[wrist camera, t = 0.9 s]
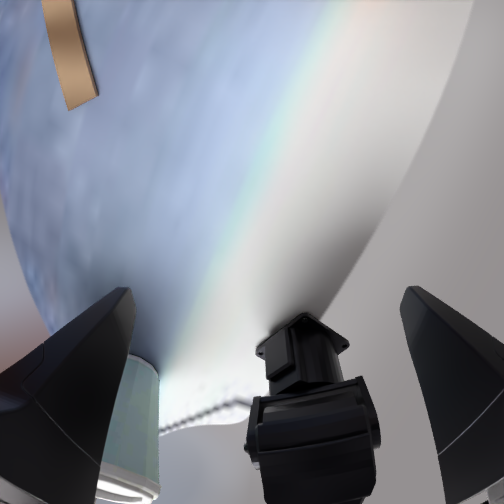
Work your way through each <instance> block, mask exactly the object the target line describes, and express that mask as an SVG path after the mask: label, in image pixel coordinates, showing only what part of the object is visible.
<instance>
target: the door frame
mask: <svg viewBox="0 0 504 504" xmlns="http://www.w3.org/2000/svg"><path fill="white" fill-rule="evenodd" d="M42 6H43V12H44V18H45V23H46V28H47V33H48V37H49V42H50V46H51V50H52V55H53V59H54V63H55V66H56V70H57V74H58V78H59V81H60V85H61V88H62V92H63V95H64V98H65V102H66V105H67V108H68V111H70V110H72V109H74V108H76V107H78V106H80V105H81V104H83V103H85V102H87V101H89V100H91V99H93V98H95V97H97V96H99V95H98V92H97V89H96V85H95V82H94V79H93V75H92V72H91V68H90V65H89V61H88V58H87V54H86V50H85V46H84V43H83V39H82V35H81V31H80V27H79V22H78V18H77V14H76V9H75V4H74V0H42Z"/></svg>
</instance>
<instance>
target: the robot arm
mask: <svg viewBox="0 0 504 504" xmlns="http://www.w3.org/2000/svg"><path fill="white" fill-rule="evenodd" d="M400 313H401V318H402V322H403V326H404V330H405V335H406V339H407V344H408V347H409V351H410V354H411V358H412V361H413V364H414V367H415V370H416V373H417V376H418V380H419V383H420V387H421V390H422V394H423V397H424V401H425V404H426V408H427V411H428V416H429V420H430V423H431V428H432V432H433V436H434V440H435V445H436V450H437V454H438V460H439V465H440V470H441V476H442V481H443V487H444V493H445V500H446V504H460V503H462V502H464V501H466V500H469V499H471V498H472V497H474V496H476V495H478V494H480V493H482V492H484V491H486V495H487V498H488V500H487V501H485V502H483V503H481V504H504V344H503V343H501V342H500V341H499V340H497V339H496V338H494V337H492V336H491V335H490V334H489V333H487V332H486V331H485V330H483V329H482V328H480V327H479V326H477V325H476V324H475V323H473V322H472V321H470V320H469V319H467V318H466V317H464V316H463V315H461V314H460V313H459V312H457V311H455V310H454V309H453V308H451V307H450V306H448V305H447V304H445V303H444V302H442V301H441V300H439V299H438V298H436V297H435V296H433V295H432V294H430V293H429V292H427V291H426V290H424V289H423V288H421V287H419V286H409V287H407V289H406V291H405V293H404V296H403V299H402V302H401V304H400ZM135 317H136V305H135V302H134V298H133V295H132V291H131V289H130V288H129V287H117V288H115V289H114V290H113V291H111V292H110V293H109V294H107V295H106V296H104V297H103V298H102V299H100V300H99V301H98V302H96V303H95V304H93V305H92V306H91V307H89V308H88V309H87V310H85V311H84V312H83V313H81V314H80V315H79V316H77V317H76V318H75V319H73V320H72V321H71V322H69V323H68V324H67V325H65V326H64V327H63V328H61V329H60V330H59V331H57V332H56V333H55V334H53V335H52V336H51V337H50V338H48V339H47V340H46V341H44V343H42V344H41V345H39V346H38V347H37V348H35V349H34V350H33V351H31V352H30V353H29V354H28V355H26V356H25V357H24V358H22V359H21V360H19V361H18V362H16V363H15V364H14V365H12V366H11V367H9V368H8V369H6V370H5V371H3V372H2V373H0V504H94V502H95V496H96V490H97V484H98V479H99V473H100V468H101V467H100V466H101V462H102V457H103V452H104V448H105V443H106V439H107V434H108V430H109V425H110V421H111V417H112V413H113V409H114V405H115V401H116V397H117V393H118V390H119V386H120V382H121V379H122V375H123V372H124V368H125V365H126V361H127V357H128V354H129V349H130V344H131V338H132V332H133V327H134V322H135ZM304 318H307V319H304ZM344 344H345V345H344ZM348 347H349V341H348V340H347V339H345V338H344V337H342V336H341V335H339V334H338V333H336V332H335V331H333V330H332V329H330V328H329V327H328V326H326V325H324V324H323V323H322V322H320V321H319V320H317V319H316V318H314V317H313V316H311V315H310V314H308V313H302V314H300V315H299V316H298V317H297V318H295V319H294V320H293V321H291V322H290V323H289V324H288V325H286V326H285V327H284V328H282V329H281V330H280V331H278V332H277V333H276V334H275V335H273V336H272V337H271V338H269V339H268V340H267V341H265V342H264V343H263V344H262V345H260V346H259V347H258V348H257V349H256V356H258V357H260V358H261V359H263V360H265V364H266V379H267V380H269V393H270V396H264V397H261V396H257V397H254V398H253V405H251V410H250V417H249V424H248V430H247V437H246V441H245V444H244V450H245V452H246V453H248V454H249V455H250V458H251V461H252V464H253V466H254V468H255V469H256V470H260V472H261V478H262V483H263V489H264V499H265V502H266V503H267V504H362V502H363V501H364V499H365V497H368V496H370V495H371V493H372V490H373V488H374V486H375V483H376V466H375V458H374V450H373V449H377V448H380V445H381V435H380V427H379V421H378V418H377V413H376V410H375V407H374V404H373V402H372V399H371V397H370V394H369V392H368V389H367V386H366V384H365V381H364V379H363V377H362V376H358V377H355V379H351V380H347V381H344V379H343V375H342V371H341V367H340V363H339V359H338V355H339V354H340V353H341V352H343V351H344V350H346V349H347V348H348Z"/></svg>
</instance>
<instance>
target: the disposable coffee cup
mask: <svg viewBox="0 0 504 504" xmlns="http://www.w3.org/2000/svg"><path fill="white" fill-rule="evenodd" d="M159 382H160V380H159V379H158V374H157V372H156V371H155V369H154V368H153V366H152V365H151V364H149V363H148V362H146V361H145V360H143V359H142V358H140V357H137V356H134V355H130V354H128V357H127V361H126V365H125V368H124V372H123V375H122V379H121V382H120V386H119V390H118V393H117V397H116V401H115V405H114V409H113V413H112V417H111V421H110V425H109V430H108V434H107V439H106V443H105V448H104V452H103V457H102V462H101V466H100V467H101V468H100V473H99V479H98V484H97V490H96V496H95V497H96V498H100V499H104V500H108V501H113V502H118V503H126V504H151V503H152V500H155V499H157V497H158V496H159V493H160V489H161V487H162V486H161V485H159V461H158V460H159V457H158V418H159Z"/></svg>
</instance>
